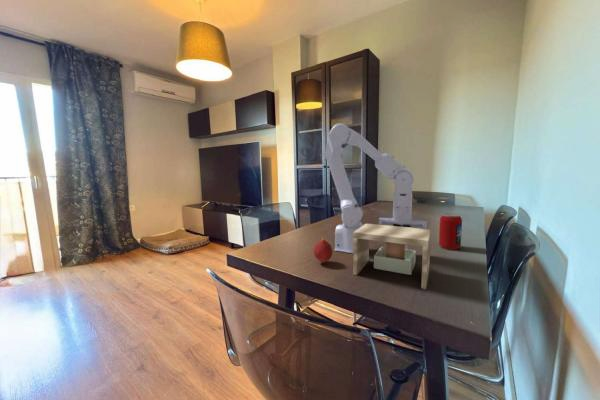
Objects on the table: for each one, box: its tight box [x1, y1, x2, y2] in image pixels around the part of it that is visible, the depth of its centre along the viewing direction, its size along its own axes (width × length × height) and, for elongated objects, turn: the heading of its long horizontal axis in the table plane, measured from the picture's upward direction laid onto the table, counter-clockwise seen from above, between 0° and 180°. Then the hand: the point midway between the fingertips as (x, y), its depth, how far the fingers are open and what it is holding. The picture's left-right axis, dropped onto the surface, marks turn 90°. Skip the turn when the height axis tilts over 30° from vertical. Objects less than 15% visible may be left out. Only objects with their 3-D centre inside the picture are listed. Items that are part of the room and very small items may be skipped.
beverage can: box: [438, 212, 463, 250], centre depth 88 cm, size 7×7×12 cm
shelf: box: [352, 223, 432, 290], centre depth 68 cm, size 18×12×12 cm, turn 59°
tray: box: [373, 244, 417, 276], centre depth 76 cm, size 10×15×4 cm, turn 149°
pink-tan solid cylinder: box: [384, 242, 407, 260], centre depth 73 cm, size 6×6×8 cm
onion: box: [313, 237, 333, 264], centre depth 77 cm, size 6×6×8 cm
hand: (401, 246), depth 83 cm, fingers closed, pressing on tray
